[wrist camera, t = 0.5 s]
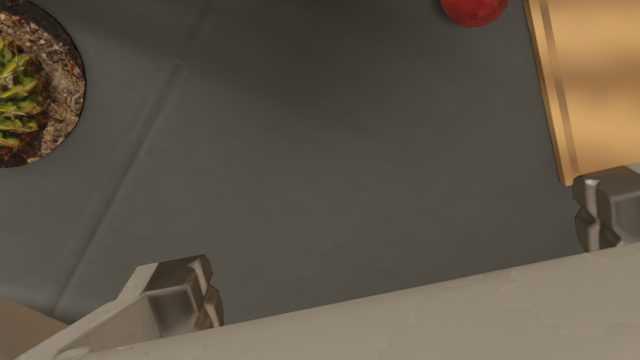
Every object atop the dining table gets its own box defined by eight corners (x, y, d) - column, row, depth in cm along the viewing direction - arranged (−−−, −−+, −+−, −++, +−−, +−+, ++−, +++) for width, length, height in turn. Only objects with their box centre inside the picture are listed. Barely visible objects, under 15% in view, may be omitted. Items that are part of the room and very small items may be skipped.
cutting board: (519, -16, 52) (525, -16, 50) (673, -68, 51) (684, -69, 49) (559, 181, 58) (566, 186, 56) (697, 139, 57) (708, 143, 55)
